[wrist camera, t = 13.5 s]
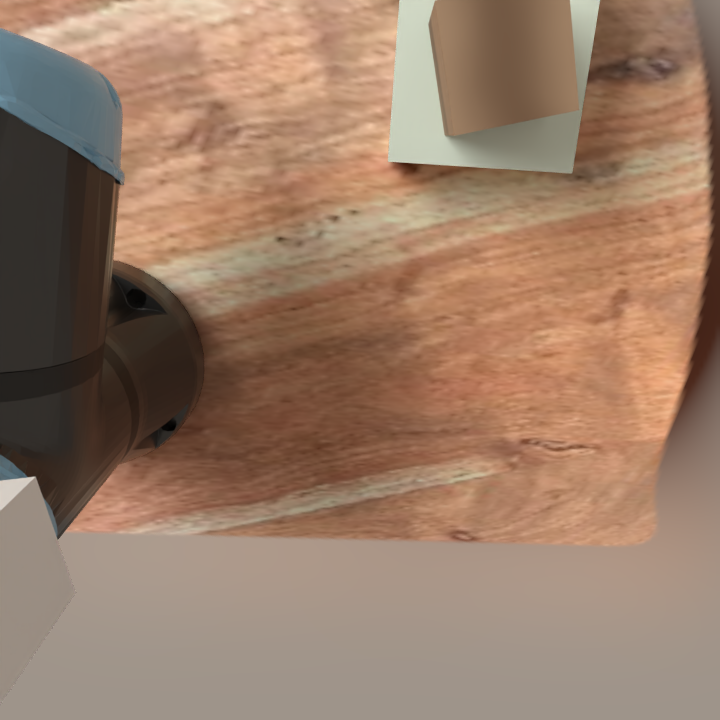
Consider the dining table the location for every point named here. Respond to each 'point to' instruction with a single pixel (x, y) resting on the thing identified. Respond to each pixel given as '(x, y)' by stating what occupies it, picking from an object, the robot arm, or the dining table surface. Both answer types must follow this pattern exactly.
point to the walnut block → (502, 62)
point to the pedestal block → (485, 147)
